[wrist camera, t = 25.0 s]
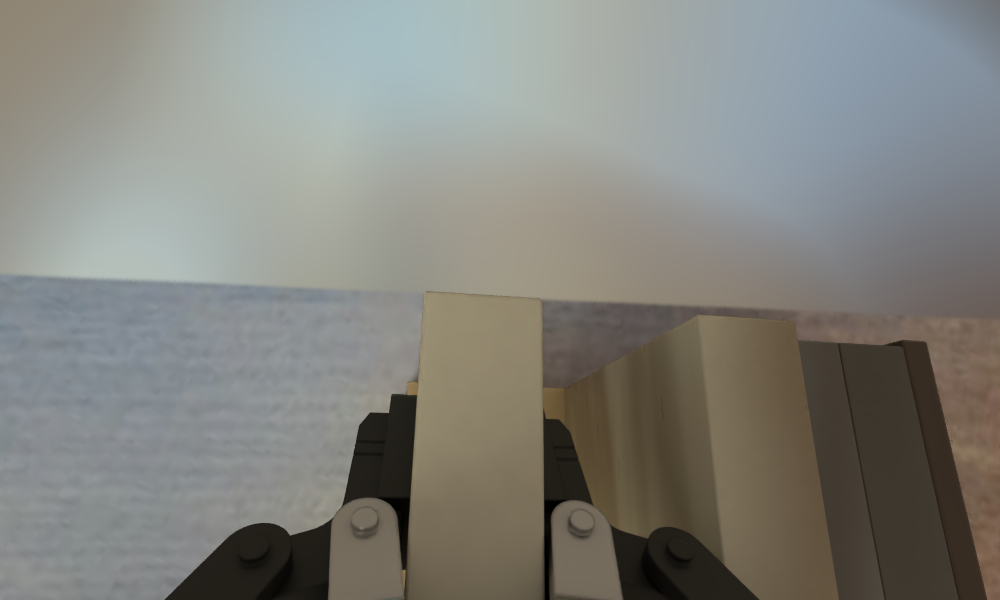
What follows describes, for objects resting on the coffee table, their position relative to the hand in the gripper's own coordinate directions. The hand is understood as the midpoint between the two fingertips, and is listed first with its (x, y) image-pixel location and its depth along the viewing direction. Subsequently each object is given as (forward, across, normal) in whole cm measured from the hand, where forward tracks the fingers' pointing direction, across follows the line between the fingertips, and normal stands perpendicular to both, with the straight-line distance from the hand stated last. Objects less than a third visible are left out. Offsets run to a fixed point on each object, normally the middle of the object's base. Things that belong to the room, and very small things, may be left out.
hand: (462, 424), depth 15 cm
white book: (+4, 0, +7) cm, 8 cm away
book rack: (+5, -6, +8) cm, 11 cm away
